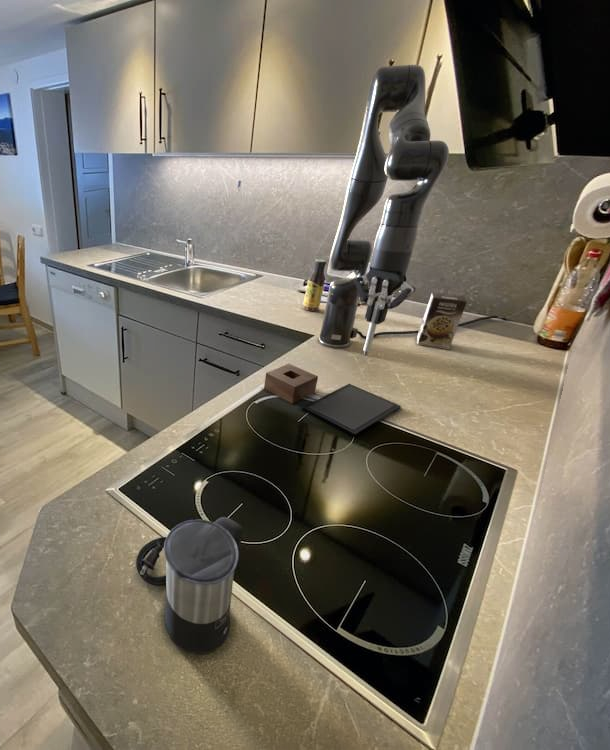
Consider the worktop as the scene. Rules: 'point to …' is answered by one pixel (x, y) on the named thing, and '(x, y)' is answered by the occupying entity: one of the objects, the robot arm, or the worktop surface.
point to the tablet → (351, 409)
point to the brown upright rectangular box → (441, 320)
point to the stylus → (371, 329)
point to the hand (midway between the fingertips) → (373, 321)
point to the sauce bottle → (315, 286)
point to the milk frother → (196, 580)
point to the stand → (290, 383)
